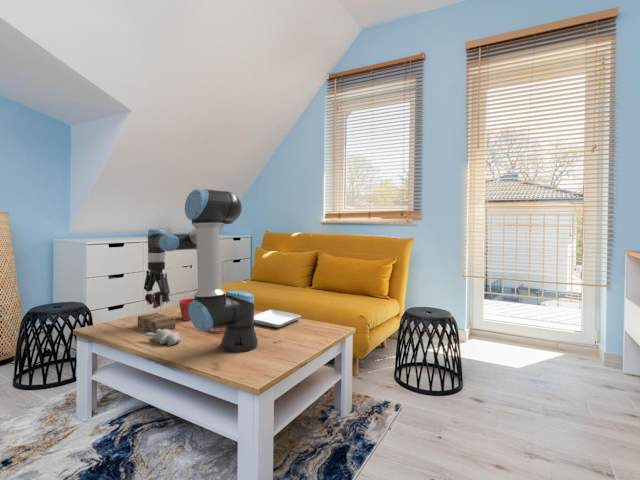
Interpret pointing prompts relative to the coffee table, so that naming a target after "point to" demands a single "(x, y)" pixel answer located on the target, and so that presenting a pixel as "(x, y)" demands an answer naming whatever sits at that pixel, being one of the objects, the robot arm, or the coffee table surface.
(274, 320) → the salad plate
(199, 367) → the coffee table surface
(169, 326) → the walnut block
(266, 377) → the coffee table surface
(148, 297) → the pottery mug
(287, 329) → the coffee table surface
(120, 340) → the coffee table surface
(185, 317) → the flower pot
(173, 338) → the bunny figurine
